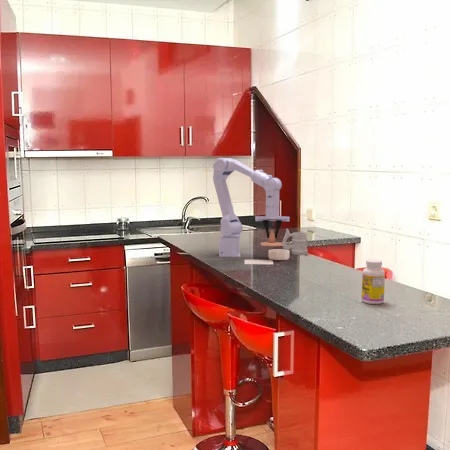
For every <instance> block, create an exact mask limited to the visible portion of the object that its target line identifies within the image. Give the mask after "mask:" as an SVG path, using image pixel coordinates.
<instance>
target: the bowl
mask: <svg viewBox="0 0 450 450" xmlns="http://www.w3.org/2000/svg"><path fill="white" fill-rule="evenodd" d="M290 253H291V251H290V249H289V250H284V249H282V248H281V249H279V248H276V249H275V248H274V249H268V260H274V261H285V260H286V261H287V260H289V259H290Z"/></svg>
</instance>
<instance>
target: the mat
mask: <svg viewBox="0 0 450 450" xmlns="http://www.w3.org/2000/svg"><path fill="white" fill-rule="evenodd" d="M244 265H274V261H273V259H244Z"/></svg>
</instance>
